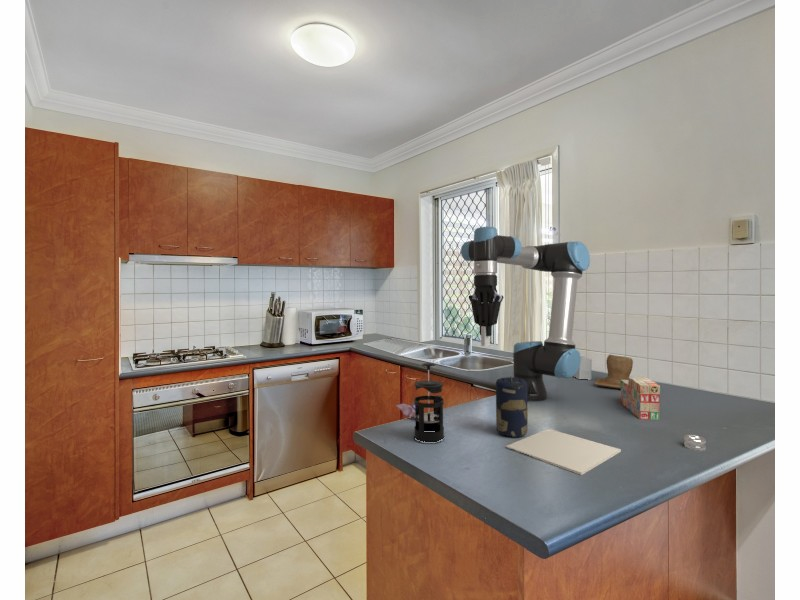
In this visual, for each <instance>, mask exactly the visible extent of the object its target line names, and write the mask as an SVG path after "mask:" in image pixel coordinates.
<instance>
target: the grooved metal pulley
mask: <svg viewBox="0 0 800 600" xmlns="http://www.w3.org/2000/svg"><path fill="white" fill-rule="evenodd" d="M683 440H684V441H683V446H684V447H685V448H686V447H687V448H686V449H688V448H690V449H689V450H691V449H694V450H693V451H696V450H699V451H698V452H703V450H704V451H706V449H707V448H706V447H707V446H706V445H705V444H707V441H706V439H705V438H704V437H703V436H700V435H695V434H685V435H684V437H683Z"/></svg>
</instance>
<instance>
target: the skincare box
mask: <svg viewBox="0 0 800 600" xmlns="http://www.w3.org/2000/svg"><path fill="white" fill-rule="evenodd" d="M580 356H581V362H580V367H579V369H578V371H577V373H576V374H575V375H574V377H576V378H578V379H588V380H587V381H591V380H592V368H593V367H592V364H593V363H592V361H593V360H592V358H588V357H586V356H582V355H580ZM574 377H573V378H574ZM576 378H575V379H576ZM578 379H577V380H578Z"/></svg>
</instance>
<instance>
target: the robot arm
mask: <svg viewBox="0 0 800 600" xmlns="http://www.w3.org/2000/svg"><path fill="white" fill-rule="evenodd" d="M460 255H461V256H462V258H463V260H464V261H467V262H473V273H474V274H475V275H474V276H473V286H474V287H475V288H474V291H473V293H472V294H471V295H468V299H469V301H470V304H471V310H472V315H473V320H474V324H477V325H478V326H479V335H480V342H481V343H480V346H481V347H489V346H491V336H492V333H493V332H492V326H494V325H497V323H498V321H499V320H498V319H499V315H500V309H501V305H502V304H501V303H502V302H503V299H504V295H500V294H499V293H498V289H497V286H498V275H497V274H498V264H505V265H506V264H507V265H513V266H521V267H522V268H523V269H527V270H533V271H539V272H544V273H545V272H547V273H550V275H551V276H552V278H553V279H554V281H553V290H552V301H551V309H550V310H551V312H550V322H549V331H548V336H547V338H546V339H544V341H543V342H542V341H541V340H540V341H539V340H537V341H536V340H535V341H532V340H531V341H523V342H516V343H515V344H514V345H513V352H512V355H513V356H512V357H513V378H519V379H523V380H525V381H526V383H527V402H528V401H531V402H532V401H535V402H536V401H537V402H538V401H544V400H546V399H547V398H548V392H547V388H546V385H545V382H544V378H543V375H544V376H550V377H555V378H557V379H571V378H572V377H573V376H574V375H575V374H576V373H577V371H578V369H579V367H580V362H581V356H582V355H581V353H580V351H579V350H578V349H576V343H575V342H574V341H573V331H574V330H573V329H574V322H575V321H574V319H575V309H576V299H577V288H578V280H579V279H581V278H582V277H583V272H584V271H587V270H588V268H589V267H590V264H591V257H590V256H591V255H590V251H589V249H588V247H587V245H585V243H583V242H582V241H579V240H578V241H566V242H557V243H549V244H548V243H547V244H542V245H541V244H540V245H534V246H533V245H527V246H524V247H523V246H522V242H521V240H520V239H519V238H517V237H514V236H510V235H509V236H508V235H507V236H506V235H498V230H497V228H496V227H494V226H481V227H478V228H475V229H474V231H473V240H468V241H466V242H464V243H463V244H462V246H461V249H460ZM573 378H574V377H573Z"/></svg>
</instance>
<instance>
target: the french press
mask: <svg viewBox="0 0 800 600" xmlns="http://www.w3.org/2000/svg"><path fill="white" fill-rule="evenodd" d="M421 366H423V367H426V370H427V379H426V380H417V381H415V382H413V386H415V391H417V390H419V389H425V390H426V391H427V395H420V396H417V397H414V399H413V403H414V404H415V418H414V419H415V423H414V424H415V425H414V431H413V433H414V435H415V438H416V439H417V440H420V441H423V442H424V441H425V442H437V441H439V440H441V439H443V438H444V437H445V431H444V428H445V427H444V400H445V399H444V398H443V397H442V396H441V395H437V394H439V393H442V391H443V386H444V383H443V382H442V381H440V380H431V379H430V371H431V367H434V366H436V364H435V363H434V362H424V363H422V364H421ZM430 393H431V394H433V395H430ZM434 394H436V395H434ZM430 400H431V401H433V402H430ZM420 401H421V402H420ZM422 401H427V402H422ZM425 408H426V409H428V410H427V411H428V412H427V413H425ZM430 409H433V412H432V413H430ZM424 431H435V432H424Z"/></svg>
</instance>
